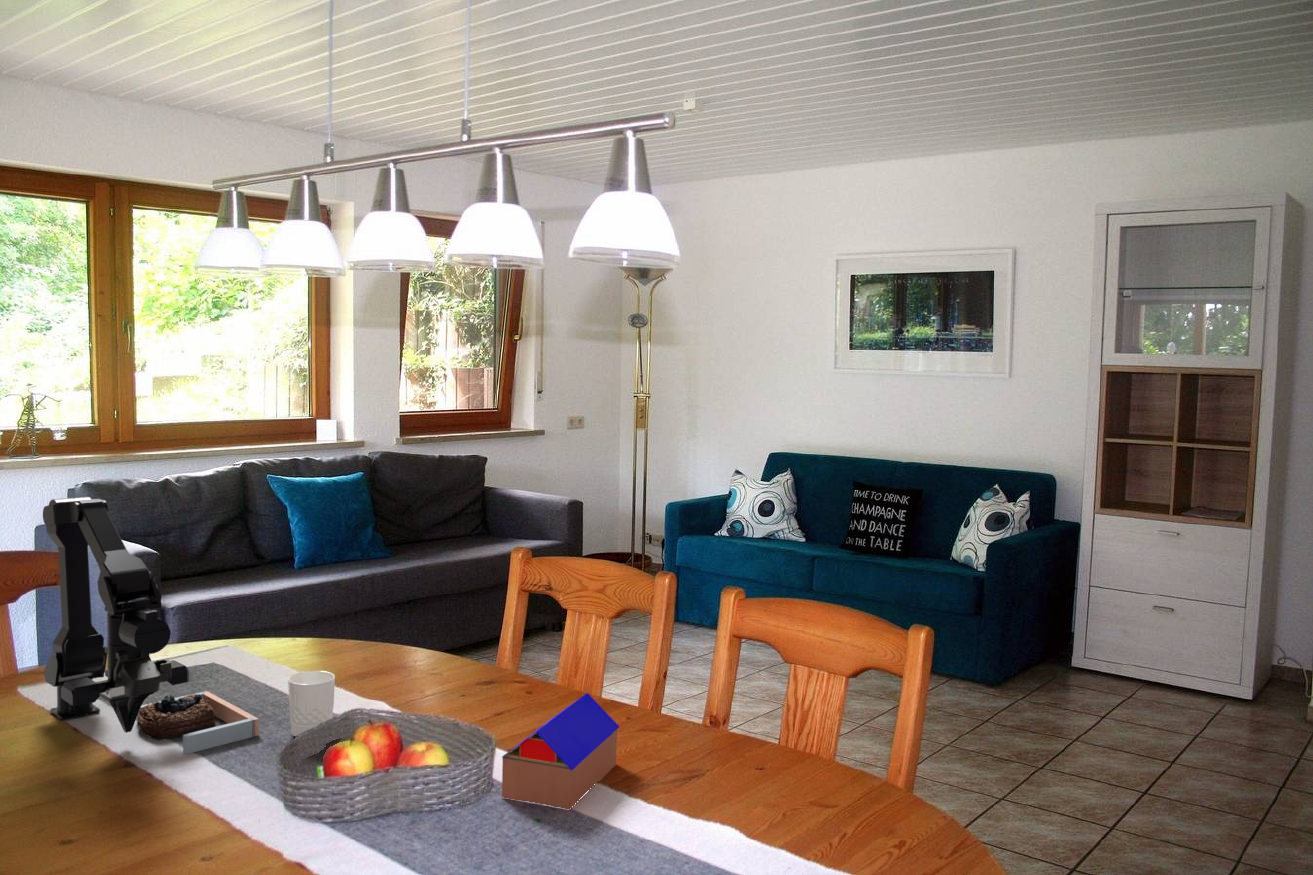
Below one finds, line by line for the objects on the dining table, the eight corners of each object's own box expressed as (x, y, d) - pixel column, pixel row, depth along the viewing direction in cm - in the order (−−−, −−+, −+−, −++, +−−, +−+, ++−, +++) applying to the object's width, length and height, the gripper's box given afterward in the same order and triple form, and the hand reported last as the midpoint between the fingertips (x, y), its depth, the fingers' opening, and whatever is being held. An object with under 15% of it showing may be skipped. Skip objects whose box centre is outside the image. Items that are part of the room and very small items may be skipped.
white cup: (320, 742, 179) (320, 686, 178) (279, 737, 180) (279, 681, 180) (342, 726, 187) (343, 672, 186) (303, 722, 188) (303, 668, 187)
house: (498, 800, 158) (500, 726, 158) (553, 754, 177) (554, 687, 176) (570, 813, 155) (572, 737, 154) (618, 765, 173) (620, 697, 173)
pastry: (222, 729, 184) (222, 697, 184) (151, 745, 176) (151, 711, 176) (200, 712, 192) (200, 681, 192) (130, 727, 184) (130, 694, 184)
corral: (137, 722, 186) (137, 706, 185) (206, 706, 195) (206, 690, 195) (186, 754, 172) (186, 736, 172) (258, 735, 181) (258, 718, 181)
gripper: (85, 662, 161) (86, 759, 162) (203, 640, 175) (204, 730, 176) (59, 647, 168) (60, 741, 170) (174, 627, 182) (175, 713, 184)
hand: (127, 731), depth 175 cm, fingers closed
